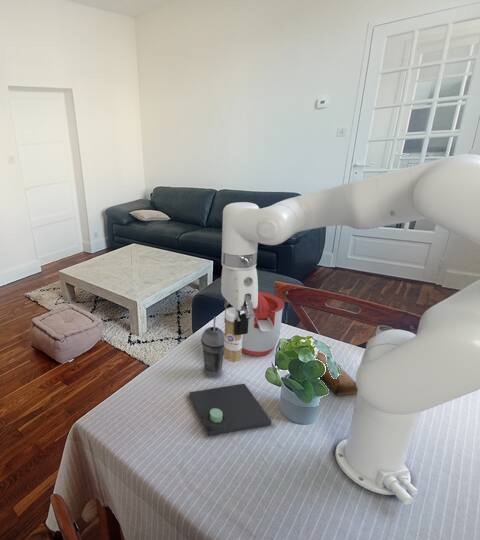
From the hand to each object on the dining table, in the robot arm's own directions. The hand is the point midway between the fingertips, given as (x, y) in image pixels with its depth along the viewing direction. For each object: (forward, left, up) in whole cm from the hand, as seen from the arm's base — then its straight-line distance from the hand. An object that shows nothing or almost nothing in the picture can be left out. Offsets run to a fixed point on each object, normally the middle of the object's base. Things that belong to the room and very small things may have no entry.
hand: (235, 327), depth 82 cm
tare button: (-7, +7, -20) cm, 23 cm away
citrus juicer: (+21, -18, -23) cm, 36 cm away
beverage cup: (+12, 0, -23) cm, 26 cm away
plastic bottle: (-5, -36, -23) cm, 43 cm away
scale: (-3, +2, -23) cm, 23 cm away
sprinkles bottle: (0, 0, -9) cm, 9 cm away
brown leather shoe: (+5, -31, -23) cm, 39 cm away
